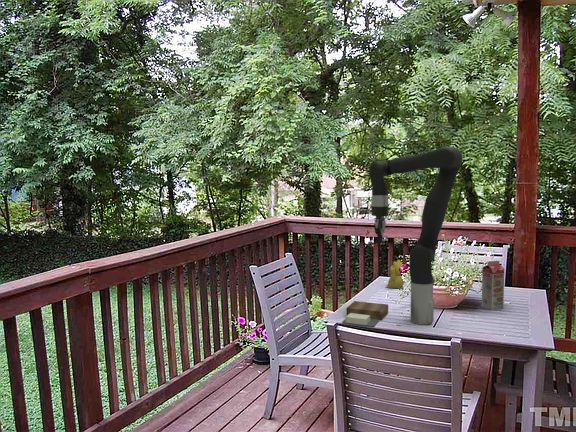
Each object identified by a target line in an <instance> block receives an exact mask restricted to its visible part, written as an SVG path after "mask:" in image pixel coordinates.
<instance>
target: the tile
mask: <svg viewBox="0 0 576 432" xmlns="http://www.w3.org/2000/svg"><path fill="white" fill-rule="evenodd" d="M345 319H346V323H353V324H361V325H367V324H368V323H369V322H370V315H363V314H354V313H350V314H348V315H347V314H346V316H345Z"/></svg>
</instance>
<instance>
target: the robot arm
mask: <svg viewBox="0 0 576 432" xmlns="http://www.w3.org/2000/svg"><path fill="white" fill-rule="evenodd" d="M462 162H463V154H462V152H461V150H460V149H459V148H457V147H453V146H448V145H446V146H442V147H439V148H436V149H433V150H430V151H426V152H424V153H421V154H413V155H406V156H400V157H399V156H398V157H394V158H391V159H387V160H385V159H384V160H374V161H372V162H371V163H370V164H369V168H368V174H369V175H368V176H369V180H370V183H371V203H370V204H371V211H370V212H371V217H372V216H373V217H375V220H374V223H373V228H374V232H375V235H376V243H377V244H383V242H384V241H383V240H384V238H383V237H384V233H385V230H386V229H385V228H386V224H387V223H386V219H385V217H388V216H389V193H388V192H389V191H388V190H389V189H388V188H389V186H388V183H387V182H386V181H385V179H384V177H386V176H387V177H388V176H392V175H399V174H407V173H411V172H415V171H419V170H422V169H439V170H438V175H437V178H436V181H435V182H434V184H433V186H432V188H431V189H430V191H429V192H428V194H427V196H426V199H425V201H424V205H423V209H422V215H421V217H422V218H421V231H420V235H419V238H418V241H417V243H416V246H415V247H413V248H412V249H411V251H410V253H409V256H408V257H409V258H408V259H409V260H408V261H409V265H408V266H409V267H408V268H409V270H408V271H409V277H410V322H411V323H413V324H417V325H432V324H433V322H434V316H435V315H434V312H435V311H434V310H435V309H434V308H435V305H434V304H435V302H434V301H435V300H434V276H433V274H432V273H433V271H432V266H433V265H432V262H433V261H434V259H435V256H436V250H437V244H438V238H439V235H440V232H441V229H442V226H443V225H444V224H443V223H444V221H445V218H446V215H447V211H448V209H449V208H448V207H449V203H450V199H451V195H452V192H453V187H454V183H455V180H456V178H457V175H458V172H459V171H460V169H461V165H462Z"/></svg>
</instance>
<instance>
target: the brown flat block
mask: <svg viewBox="0 0 576 432" xmlns="http://www.w3.org/2000/svg"><path fill="white" fill-rule="evenodd" d="M345 310H346V311H345V312H346V316H347V315H348V314H350V313H354V314H363V315H370V318H371V319H379V321H383V320H384V319H385V318H386V317H387V315H388V314H389V304H386V303H377V302H368V301H357V300H354V301H352V302H351V303H350V304H349V305H348V306H347V307H346V309H345Z"/></svg>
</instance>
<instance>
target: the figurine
mask: <svg viewBox="0 0 576 432" xmlns="http://www.w3.org/2000/svg"><path fill="white" fill-rule="evenodd" d="M392 263H393V264H392V265H391V266H390V268H389V272H390V274H389V276H390V277H389V279H388V281H387V283H388V284H386V288H387V289H388V288H389V289H400V288H402V287H403V286H404V284H405V281H403V279H402V278H401V274H400V272H399V268H400V266H402V265H403V264H402V261H401V260H400V259H397V261H393V262H392Z"/></svg>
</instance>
